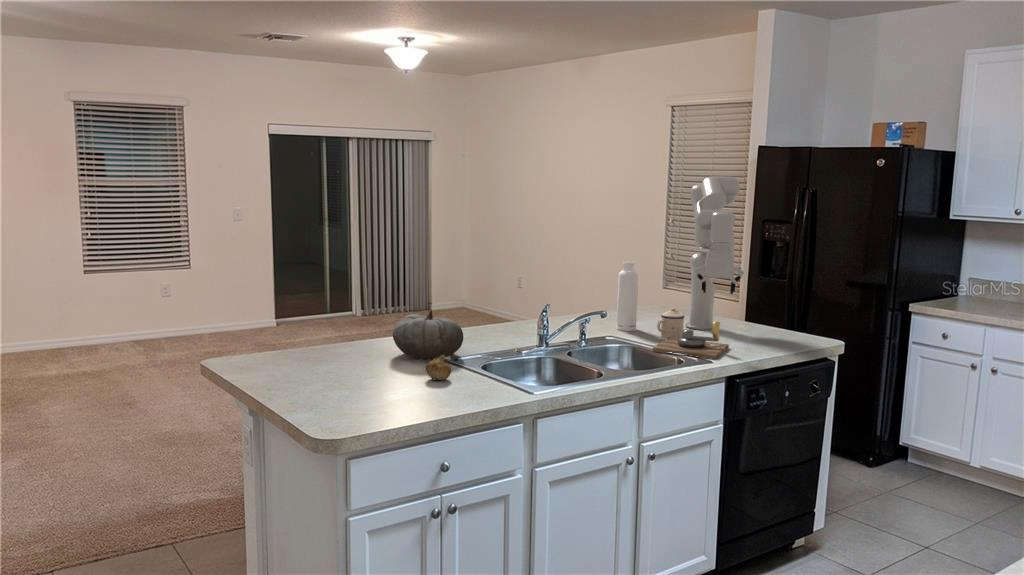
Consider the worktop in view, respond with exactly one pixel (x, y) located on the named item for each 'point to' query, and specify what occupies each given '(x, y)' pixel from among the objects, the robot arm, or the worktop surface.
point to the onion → (439, 368)
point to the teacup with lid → (671, 324)
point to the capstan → (698, 337)
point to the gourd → (427, 336)
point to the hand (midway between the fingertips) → (717, 293)
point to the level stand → (691, 348)
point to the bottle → (627, 297)
